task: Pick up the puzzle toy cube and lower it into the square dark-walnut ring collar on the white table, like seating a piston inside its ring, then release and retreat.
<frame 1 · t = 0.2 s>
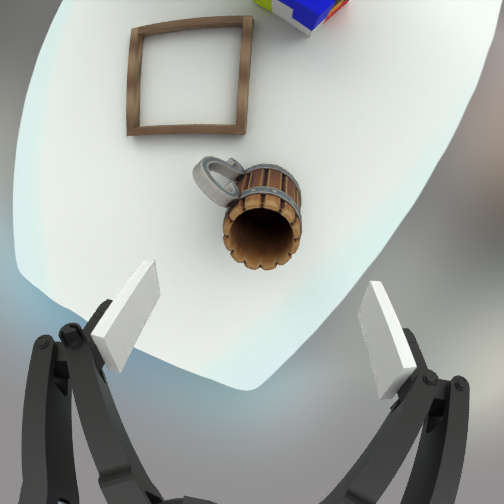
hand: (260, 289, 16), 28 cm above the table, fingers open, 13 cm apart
ring collar: (187, 75, 33), on the table
mug: (255, 183, 41), on the table
puzzle toy: (301, 0, 25), on the table
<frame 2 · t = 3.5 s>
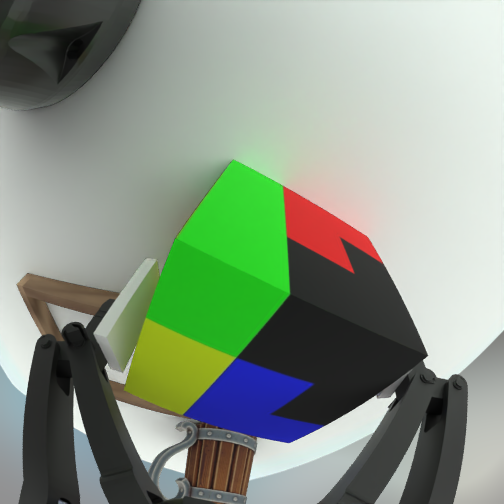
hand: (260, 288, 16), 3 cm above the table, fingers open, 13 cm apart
ring collar: (109, 349, 26), on the table
mug: (211, 426, 35), on the table
puzzle toy: (266, 258, 19), on the table, touching gripper
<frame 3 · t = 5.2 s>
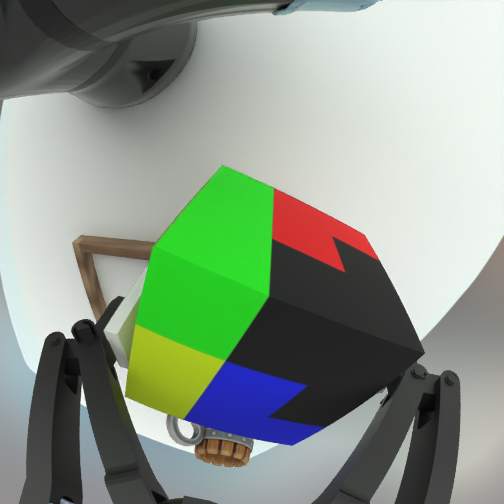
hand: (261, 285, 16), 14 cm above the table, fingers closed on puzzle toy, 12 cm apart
ring collar: (145, 298, 36), on the table
mug: (223, 379, 44), on the table
puzzle toy: (263, 261, 19), point 11 cm above the table, touching gripper
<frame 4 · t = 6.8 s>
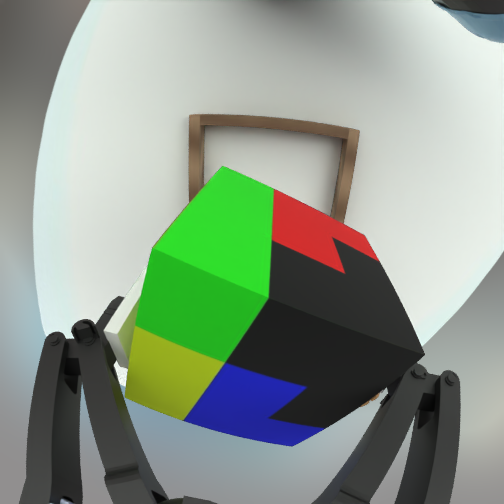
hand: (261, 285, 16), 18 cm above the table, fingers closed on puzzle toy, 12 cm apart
ring collar: (268, 193, 32), on the table
puzzle toy: (263, 262, 19), point 16 cm above the table, touching gripper
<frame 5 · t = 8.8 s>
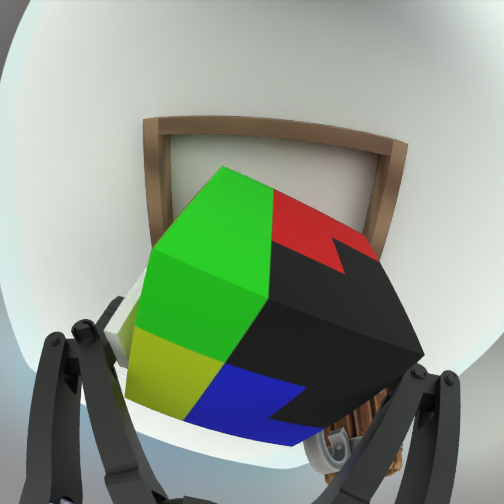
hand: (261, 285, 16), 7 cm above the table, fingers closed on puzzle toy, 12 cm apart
ring collar: (266, 233, 22), on the table
mug: (341, 364, 30), on the table
puzzle toy: (263, 262, 19), point 4 cm above the table, touching gripper
when the fingers open (4 cm above the table, at t = 10.1 s): puzzle toy drops 2 cm, resting in ring collar.
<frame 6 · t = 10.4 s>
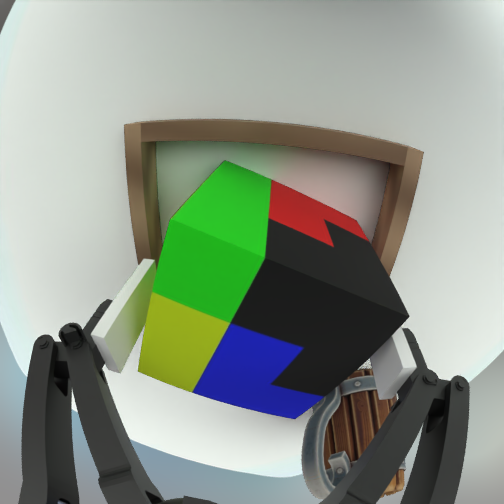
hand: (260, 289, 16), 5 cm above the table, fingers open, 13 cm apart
ring collar: (264, 250, 20), on the table
mug: (343, 382, 28), on the table
puzzle toy: (264, 247, 20), resting in ring collar
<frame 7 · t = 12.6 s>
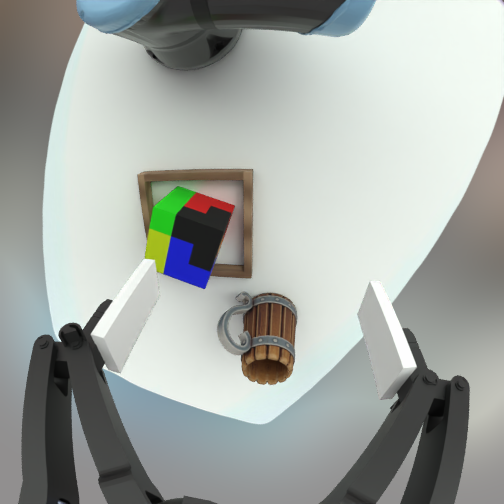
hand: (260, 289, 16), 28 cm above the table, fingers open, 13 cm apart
ring collar: (198, 222, 45), on the table
mug: (261, 304, 53), on the table
puzzle toy: (198, 221, 46), resting in ring collar
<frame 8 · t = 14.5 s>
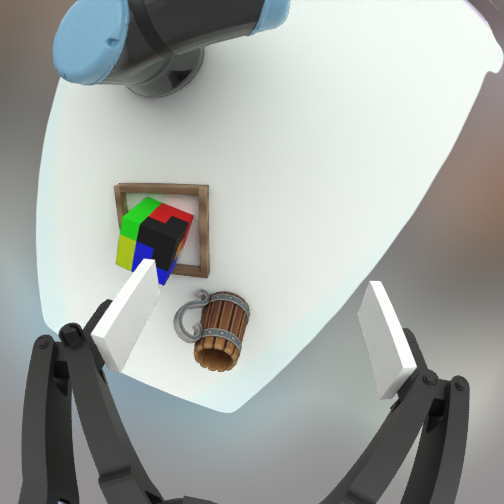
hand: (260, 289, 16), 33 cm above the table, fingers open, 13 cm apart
ring collar: (163, 228, 52), on the table
mug: (218, 301, 60), on the table
puzzle toy: (164, 227, 52), resting in ring collar
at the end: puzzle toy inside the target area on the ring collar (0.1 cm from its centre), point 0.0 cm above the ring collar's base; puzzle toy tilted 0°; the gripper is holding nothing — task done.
